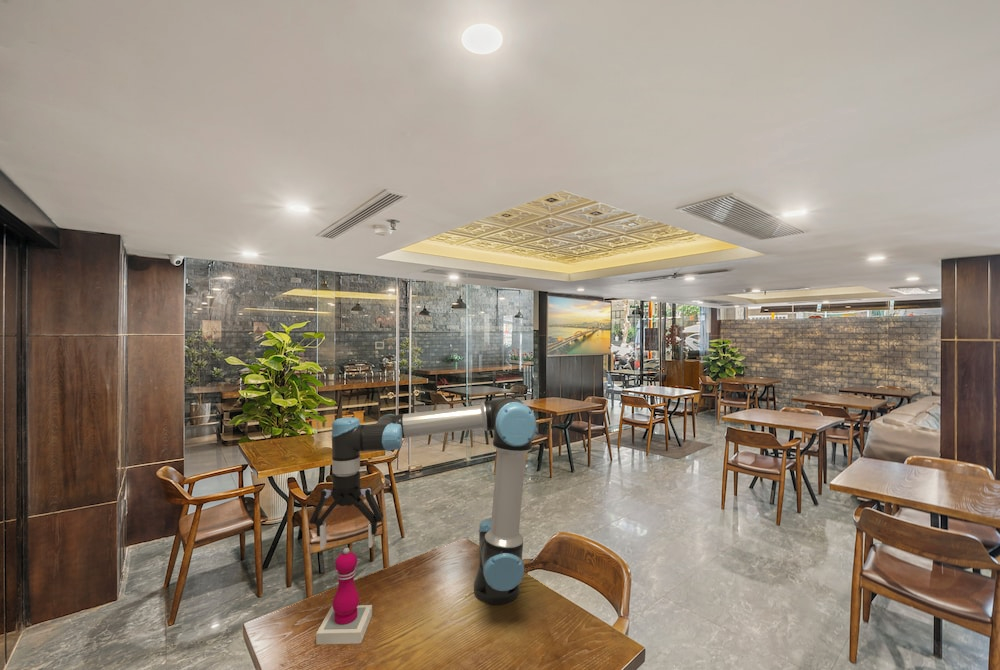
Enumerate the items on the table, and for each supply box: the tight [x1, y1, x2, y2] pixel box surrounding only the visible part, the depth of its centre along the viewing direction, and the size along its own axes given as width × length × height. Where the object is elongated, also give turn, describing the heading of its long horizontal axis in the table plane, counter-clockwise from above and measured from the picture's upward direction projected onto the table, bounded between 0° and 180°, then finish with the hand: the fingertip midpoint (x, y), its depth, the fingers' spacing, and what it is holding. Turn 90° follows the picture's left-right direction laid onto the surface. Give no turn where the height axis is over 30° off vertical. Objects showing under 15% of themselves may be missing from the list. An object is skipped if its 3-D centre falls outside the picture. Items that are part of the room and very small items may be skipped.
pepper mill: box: [332, 547, 360, 625], centre depth 123 cm, size 7×7×20 cm
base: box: [315, 604, 373, 645], centre depth 123 cm, size 12×12×3 cm
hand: (347, 546), depth 123 cm, fingers open, 13 cm apart
